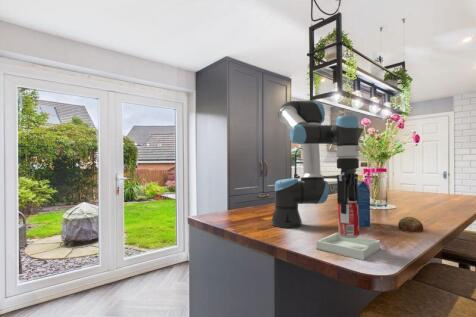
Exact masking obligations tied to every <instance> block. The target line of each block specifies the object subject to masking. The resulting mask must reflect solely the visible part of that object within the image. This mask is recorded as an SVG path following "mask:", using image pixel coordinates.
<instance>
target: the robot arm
mask: <svg viewBox="0 0 476 317" xmlns="http://www.w3.org/2000/svg"><path fill="white" fill-rule="evenodd" d="M325 116H326V112H325V107H324V104H323V103H322V102H320V101H317V100H291V101H290V100H289V101H287V102H285V103H283V104H281V106H280V107H279V108H278V111H277V118H278V120H279V122H280V123H282V124H283V125H285V126H286V127H287V129H289V139H290V142H291V143H292V144H298V145H301V147H302V166H303V167H302V168H303V170H302V171H303V174H302V175H301V177H300V180H299V179H298V178H296V177H295V178H294V177H293V178H285V179H283V178H282V179H279V180H276V181H275V184H274V212H273V214H272V217H271V226H274V227H276V228H277V227H278V228H282V229H283V228H284V229H285V228H286V229H294V228H300V227H302V225H303V222H302V218H301V215H300V212H299V205H308V204H309V205H318V204H319V205H320V204H324V203H326V201H327V199H328V197H329V193H330V185H329V183H328V181H326V180H325V177H324V175H322V172H321V158H320V157H321V156H320V154H321V153H320V144H321V145H323V144H324V145H336V157H337V159H336V168H337V169H338V170H339V169H340V174H337V175H336V182H337V184H336V186H337V189H336V192H337V194H336V195H337V199H336V200H337V201H336V202H337V205H338V204H340V208H341V222H342V223H349V205H347V204H348V200H349V201H357V203H358V175H359V174H357V173H356V172H355V169H359V167H360V166H359V164H360V161H359V158H358V157H359V152H360V151H361V149H360V148H359V126H360V125H359V118H358V116H356V115H353V114H346V115H345V114H344V115H339V116H337V117H336V119H335V120H336V122H335V124H329V125H328V124H322V123H324V122H325Z"/></svg>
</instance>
